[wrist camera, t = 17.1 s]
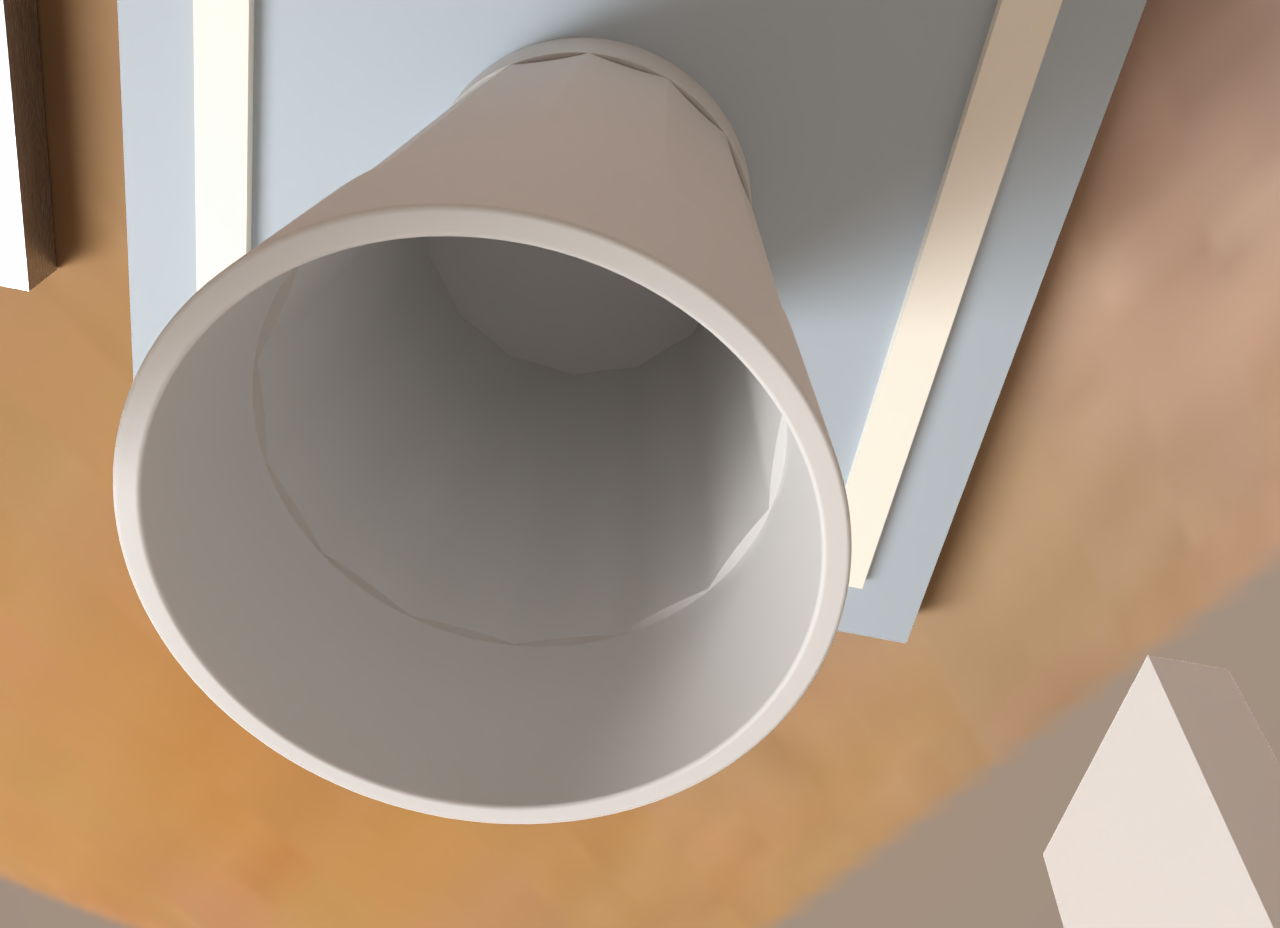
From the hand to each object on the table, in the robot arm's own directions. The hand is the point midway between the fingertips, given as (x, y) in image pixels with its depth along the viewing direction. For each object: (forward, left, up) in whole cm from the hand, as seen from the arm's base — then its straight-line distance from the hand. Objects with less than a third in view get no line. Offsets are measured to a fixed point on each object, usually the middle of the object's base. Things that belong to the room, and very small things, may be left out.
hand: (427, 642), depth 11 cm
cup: (0, 0, -14) cm, 14 cm away
